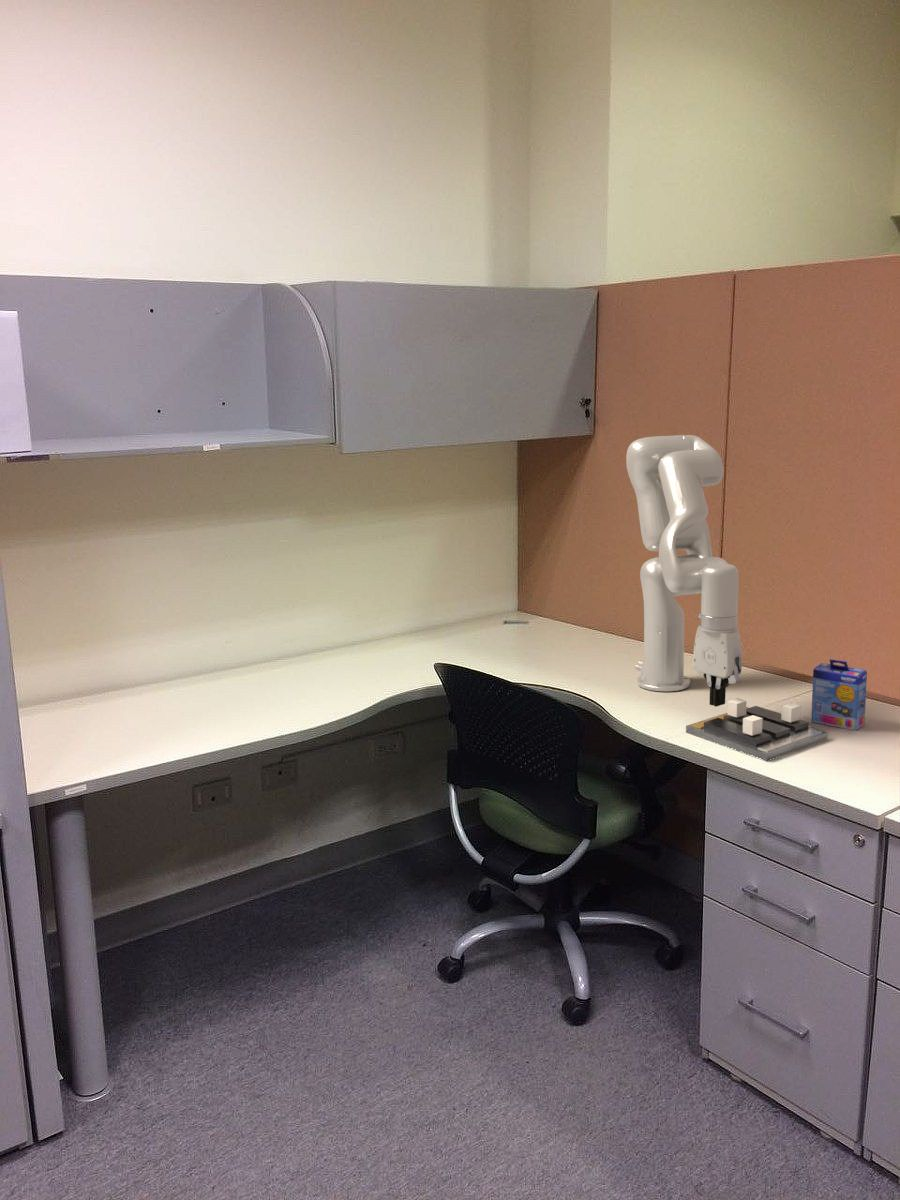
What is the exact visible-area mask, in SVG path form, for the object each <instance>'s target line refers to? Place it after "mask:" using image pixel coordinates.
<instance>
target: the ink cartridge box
mask: <svg viewBox="0 0 900 1200" xmlns="http://www.w3.org/2000/svg"><path fill="white" fill-rule="evenodd" d="M840 664H841V665H840ZM812 672H813V673H812V695H811V697H812V698H811V715H810V717H811V719H810V722H811V723H814V722H815V723H816V724H819V725H824V724H825V725H826V726H829V727H830V726H831V727H835V728H840V729H845V730H848V731H849V730H851V731H858V730H859V729H860V728H861V727H863V726H864V725H865V724H866V723H865V719H866V718H865V717H866V700H867V699H866V697H867V696H866V695H867V682H868V681H867V680H868V679H867V677H868V671H867V669H863V668H855V667H850V666H849V665H848V663H847V661H845V660H837V659H831V658H830V659H829V663H819V665H817V666H816V667H814V668H813V670H812ZM815 723H814V724H815ZM825 725H824V726H825Z"/></svg>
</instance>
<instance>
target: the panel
mask: <svg viewBox="0 0 900 1200" xmlns="http://www.w3.org/2000/svg"><path fill="white" fill-rule="evenodd" d="M752 715H754V716H757V717H760V718H763V720H762V733H759V734H756V735H753V736H752V735H749V734H746V733H743V718H746V717H749V716H752ZM781 715H782V712H777V711H774V710H770V709H767V708H765V707H761V706H758V705H755V706H751V707H748V706H746V715H743V716H740V717H737V718H736V717H733V716H730V715H728V712H726V713H723V714H718V715H716V716H715V715H714V716H713V717H709V718H706V719H703V720H701V721H697V722H694V723H691V724H686V725H685V733H687V734H690V735H692V736H695V737H698V738H700V739H703V740H706V741H708V740H709V742H711V743H714V742H715V744H717V743H718V744H717V745H719V746H722V745H724V747H725V746H727V747H726V748H728V747H729V748H728V749H731V748H733V749H732V750H734V749H736V750H739V751H742V752H744V753H743V754H745V753H746V755H747V754H749V755H748V756H750V755H753V756H755V757H754V758H756V757H758V758H757V759H759V758H761V759H763V760H762V761H764V760H766V761H765V762H769V761H771V760H770V759H772V760H774V759H773V758H775V759H777V758H780V757H782V755H783V756H786V755H788V754H790V752H791V753H793V751H794V752H796V750H797V751H799V750H801V748H802V749H805V748H807V747H810V746H813V745H816V744H818V743H821V742H824V741H827V740H828V736H829V732H828V731H825V730H822V729H820V728H819V729H818V728H816V727H814V726H813V727H812V726H810V722H809V721H807V720H805V719H804V720H803V719H801V718H800V720H797V721H794V722H788V721H784V720H781ZM798 749H799V750H798ZM736 750H735V751H736ZM739 751H738V752H739ZM742 752H741V753H742ZM785 754H786V755H785ZM753 756H752V757H753ZM779 756H780V757H779ZM776 757H777V758H776ZM761 759H760V760H761ZM768 760H769V761H768Z"/></svg>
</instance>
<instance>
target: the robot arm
mask: <svg viewBox="0 0 900 1200" xmlns="http://www.w3.org/2000/svg"><path fill="white" fill-rule="evenodd" d="M625 461H626V463H625V464H626V471H627V475H628V479H630V483H631V486H632V488H633V490H634V493H635V497H636V502H637V511H638V519H639V526H640V534H641V539H642V544H643V546H644V548H645V549H646V550H648V551H651V552H658V556H656V557H653V558H650V559H648V560H646V561H645V562H644V563H643V564H642V565H641V567H640V570H639V571H640V572H639V573H640V574H639V578H640V584H641V585H640V586H641V590H642V598H643V623H644V626H643V629H644V630H643V635H644V637H643V651H644V652H643V660H642V659H641V660H639V661H638V662H637V663H636V664H635V665H634V670H636V671H640V676H638V677H637V679H636V681H637V685H638V686H639V687H641V688H643V689H645V690H648V691H652V692H653V691H654V692H664V693H665V692H678V691H682V690H685V689H687V688H689V687H690V685H691V680H690V678H689V677H688V676H686V675H684V672H685V671H684V670H685V669H684V667H685V664H684V663H685V613H684V610H683V608H682V607H681V606H680V605H679V603H678V602H677V601H676V599H675V597H679V596H685V595H687V596H688V595H697V594H701V597H700V598H701V599H700V612H699V614H698V616H697V617H698V618H699V619H700V624H699V625H698V626H697V629H696V632H695V638H694V643H693V655H692V657H693V658H692V666H693V669H694V670H695V671H697V674H699V675H700V676H702V677H704V679H705V680H706V684H707V687H709V705H710V706H714V707H719V706H722V705H725V704H726V693H727V692H726V688H728V687H729V685H730V684H731V685H732V684H736V683H737V684H738V683H740V675H741V673H742V670H743V653H742V652H743V651H742V650H743V649H742V642H741V641H742V640H741V634H740V630H739V629H738V611H739V610H738V608H739V575H740V574H739V570H738V568H737V567H736V565H733V564H730V563H728V562H727V561H726V560H725V559H724V558H722V557H718V556H713V551H712V543H711V536H710V530H709V525H708V521H707V520H706V519H707V516H708V514H709V508H708V504H707V501H706V496H705V493H704V489H703V487H714V486H717V485H719V484H720V483H721V482H722V480H723V478H724V470H725V469H724V464H723V461H722V458H721V455H720V454H719V452H718V451H717V450H716V449H715V448H714V447H713V446H711V445H710V444H709V443H708V442H706V441H704V439H703V438H701V437H699V436H697V435H693V434H679V435H656V436H645V437H642V438H637V439H636V440H634V441H632V442H631V443H630V444H629V446H628V447H627V450H626V459H625ZM657 473H658V474H657ZM682 550H683V551H684V550H685V552H686V554H682V555H678V553H677V551H682Z"/></svg>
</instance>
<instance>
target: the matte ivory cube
mask: <svg viewBox="0 0 900 1200" xmlns="http://www.w3.org/2000/svg"><path fill="white" fill-rule="evenodd" d="M746 707H747V700H745V699H741V698H739V697H737V698H734V699H732V700H731V699H730V700H728V701H727V713H728V715H730V716H733V717H736V718H737V717H740V716H743V715H746Z"/></svg>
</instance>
